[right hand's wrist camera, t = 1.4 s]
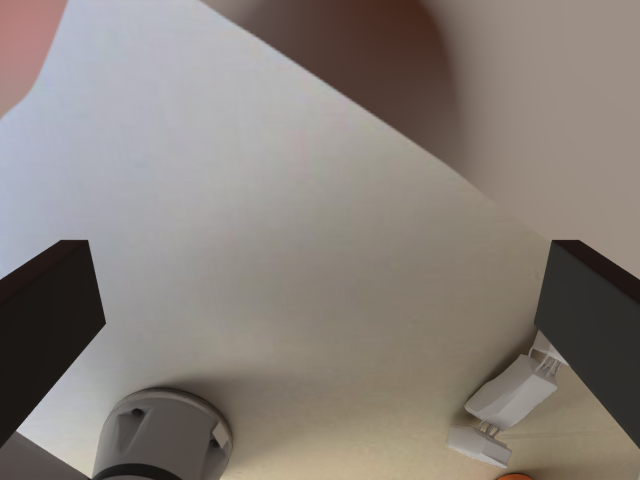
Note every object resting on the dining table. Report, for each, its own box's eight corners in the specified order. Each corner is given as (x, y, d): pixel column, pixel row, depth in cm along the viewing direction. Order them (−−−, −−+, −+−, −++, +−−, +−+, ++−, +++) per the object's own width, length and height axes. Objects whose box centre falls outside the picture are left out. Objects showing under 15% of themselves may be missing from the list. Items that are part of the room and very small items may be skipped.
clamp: (464, 445, 52) (487, 494, 45) (438, 433, 51) (459, 481, 44) (569, 314, 47) (613, 347, 40) (543, 299, 46) (583, 331, 40)
